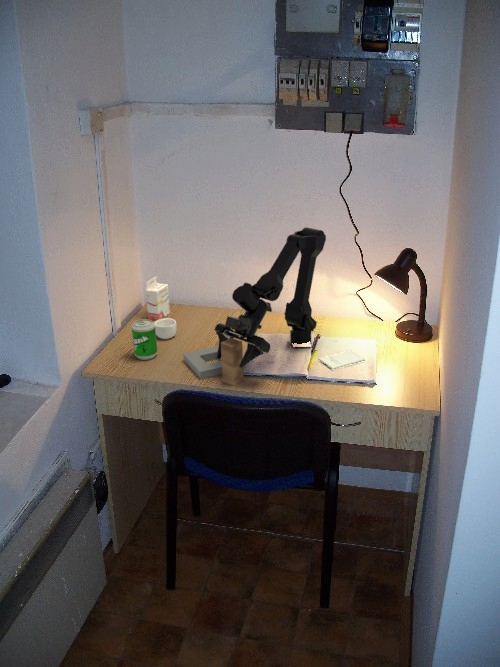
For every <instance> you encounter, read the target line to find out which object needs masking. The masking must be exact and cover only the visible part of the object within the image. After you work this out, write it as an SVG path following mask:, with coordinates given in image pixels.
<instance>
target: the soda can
mask: <svg viewBox="0 0 500 667" xmlns="http://www.w3.org/2000/svg"><path fill="white" fill-rule="evenodd" d="M131 333H132V334H131V335H132V336H131V337H132V345H133V354H134V356H135V357H136V358H137V359H139V360H141V361H147V360H152V359H154V358H155V357H156V355H158V344H157V342H158V341H157V335H156V330H155V324H154V322H153V320H151V319H147V318H145V319H144V318H143V319H138V320H135V321H134V322H133V324H132V325H131Z"/></svg>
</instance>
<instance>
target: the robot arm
mask: <svg viewBox="0 0 500 667" xmlns="http://www.w3.org/2000/svg"><path fill="white" fill-rule="evenodd" d="M326 241H327V236H326V234H325V232H324V231H323V230H322V229H317V228H312V227H304V228H302V229H301V230H297V231H294V233H293V234H289V235H288V236H287V238H286V242H285V244H284V246H283V247H282V249H281V250H280V253H279V254H278V256H277V258H276V259H275V261H274V263H273V265H272V266H271V268H269V271H267V272H266V273H264V274H262V275H261V276H260V278H259V279H258V280H257V281H256V283H254V284H253V285H252V283H249V282H244V283H243V284H242V285H240V286H238V287H236V288H235V289H234V290H233V292H232V300H233V301H234V302H235V304H237V305H238V306H239V307H240V308H241V309H242V310H244V311H245V312H244V313H243V314H240V315H239V316H238V317H233V316H229V315H227V317H226V319H225V324H223V323H220V322H219V323H216V325H215V327H214V329H213V330H214V331H215V334H216V335H217V336H218V346H219V347H218V353H217V358H218V360H219V359H220V358H221V342H223V341H225V340H228V339H230V338H233V339H236V340H239V341H242V342H244V343H247V347H246V351H245V353H244V354H243V359H242V361H241V363H240V366H239V367H241V368H242V367H243V368H244V367H245V366H247V365H248V364H249V363H251V362H252V361H253V360H255V359H256V358H257V357H259V356H261V355H262V356H263V355H265V354H269V352H270V350H271V344H270V343H269V342H268V341H267V340H266V339H265V338H263V337H261V336H258V335H257V334H256V333H257V331H258V329H259V330H261V329H262V325H261V324H262V321H263V319H264V318H265V316H266V314H267V312H269V313H272V311H273V310H272V309H273V308H272V306H271V303H270V302H275V301H277V300H278V299H279V297H280V296H281V293H282V291H283V288H284V280H285V277H286V275H287V273H288V271H290V269H291V266H292V265H293V263H294V262H295V260H296V258H297V256H299V253H300V261H299V267H298V272H297V278H296V284H295V289H294V295H293V298H292V300H291V301H290V302H287V303H286V304H285V310H284V320H285V321H286V326H287V327H290V328H291V330H289V343H290V342H291V343H293V344H294V343H297V344H302V343H307V342H309V341H310V342H311V343H312V332H314V331H315V329H316V328H317V323H318V322H317V320H315V319H314V318H313V317H312V312H313V311H312V307H311V303H310V295H311V289H312V285H313V279H314V272H315V269H316V268H315V267H316V262H317V257H318V256H319V255H320V254H321V253H322V251H324V247H325V243H326ZM266 300H267V301H266ZM268 301H269V302H268ZM291 343H290V344H291Z"/></svg>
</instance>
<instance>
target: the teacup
mask: <svg viewBox="0 0 500 667" xmlns="http://www.w3.org/2000/svg"><path fill="white" fill-rule="evenodd" d="M153 323H154V324H155V330H156V337H157V338H159V339H161V340H169V338H170V339H172V338H173V337H174V336H175V335H176V333H177V321H176V320H175V319H173V318H170V317H167V318H165V317H164V318H162V319H159V320H154V322H153Z"/></svg>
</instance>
